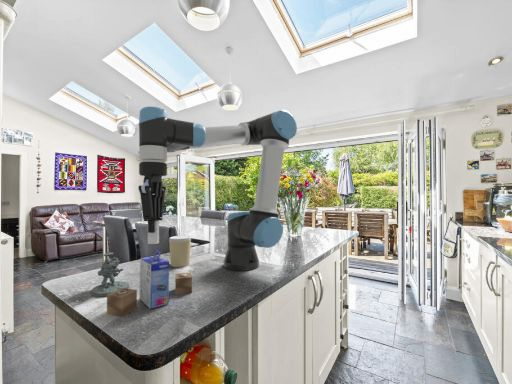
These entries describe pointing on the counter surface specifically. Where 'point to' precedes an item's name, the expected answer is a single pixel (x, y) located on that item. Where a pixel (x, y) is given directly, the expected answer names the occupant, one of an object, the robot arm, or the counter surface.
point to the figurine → (110, 272)
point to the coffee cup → (180, 250)
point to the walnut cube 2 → (183, 283)
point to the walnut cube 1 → (121, 302)
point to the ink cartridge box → (154, 281)
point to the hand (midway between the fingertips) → (153, 243)
